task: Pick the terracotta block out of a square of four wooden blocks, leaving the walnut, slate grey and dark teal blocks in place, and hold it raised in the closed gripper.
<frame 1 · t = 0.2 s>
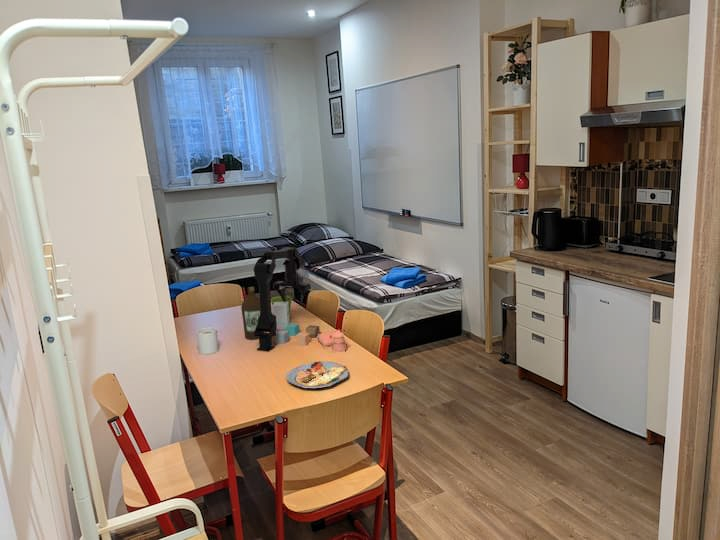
hand: (292, 302, 277), 14 cm above the table, tool pointing down, fingers open, 9 cm apart
pottery: (334, 347, 255), on the table
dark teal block: (292, 334, 273), on the table
terracotta block: (303, 344, 260), on the table
walnut block: (313, 336, 270), on the table
food plate: (318, 378, 222), on the table
olive oil: (254, 337, 272), on the table
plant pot: (282, 319, 298), on the table
slate grey block: (282, 342, 263), on the table
supplement box: (281, 327, 285), on the table
mug: (209, 350, 256), on the table
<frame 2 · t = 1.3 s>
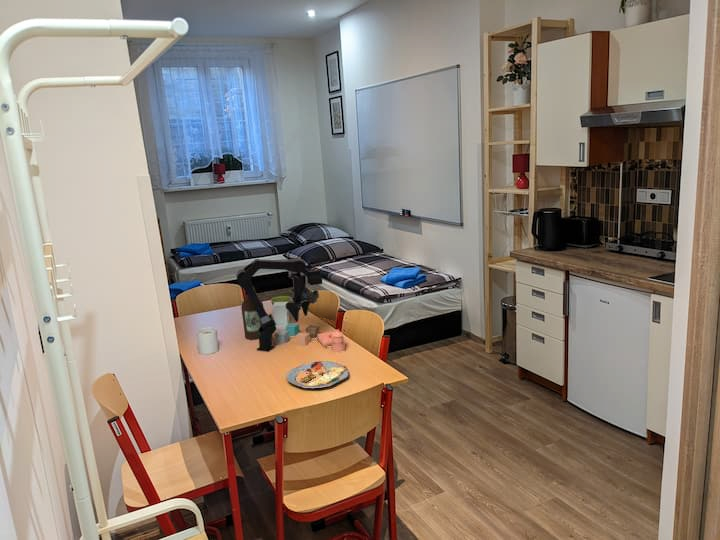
hand: (301, 318, 257), 13 cm above the table, tool pointing down, fingers open, 9 cm apart
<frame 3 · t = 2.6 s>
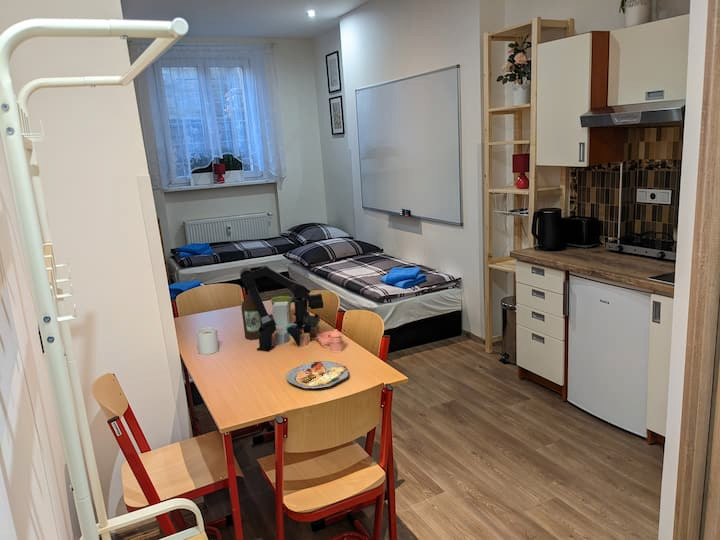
hand: (302, 342, 259), 1 cm above the table, tool pointing down, fingers open, 9 cm apart
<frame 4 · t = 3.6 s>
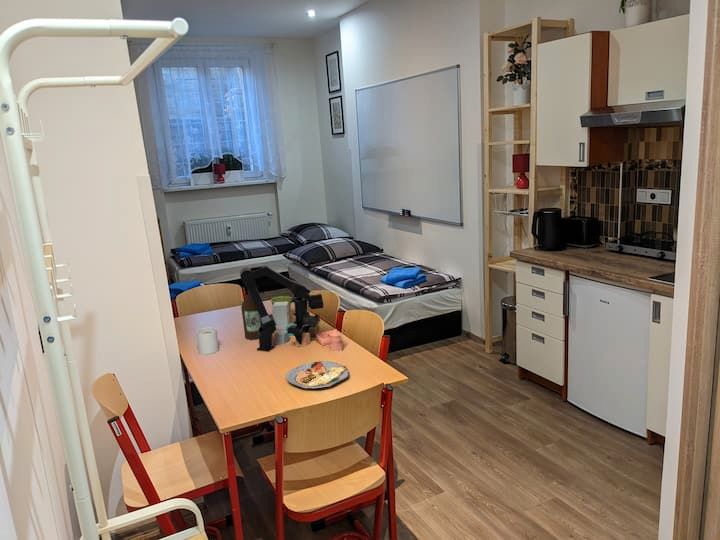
hand: (302, 342, 259), 1 cm above the table, tool pointing down, fingers closed on terracotta block, 5 cm apart
terracotta block: (303, 344, 260), on the table, touching gripper
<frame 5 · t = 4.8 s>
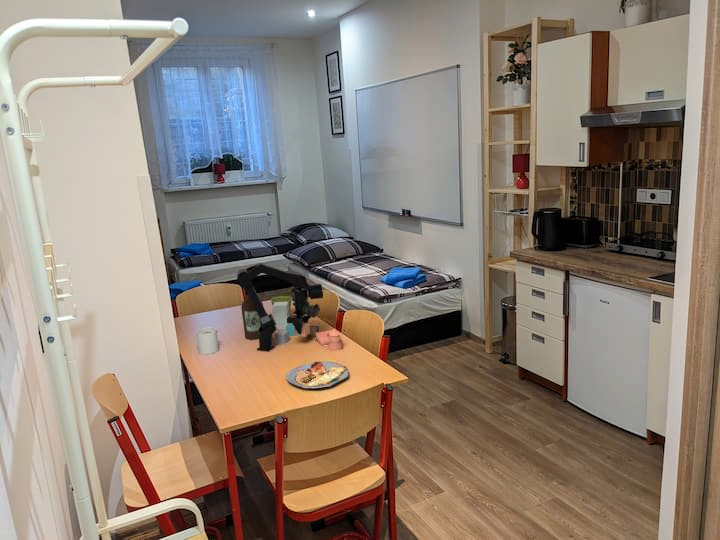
hand: (302, 332, 258), 6 cm above the table, tool pointing down, fingers closed on terracotta block, 5 cm apart
terracotta block: (302, 334, 258), point 5 cm above the table, touching gripper
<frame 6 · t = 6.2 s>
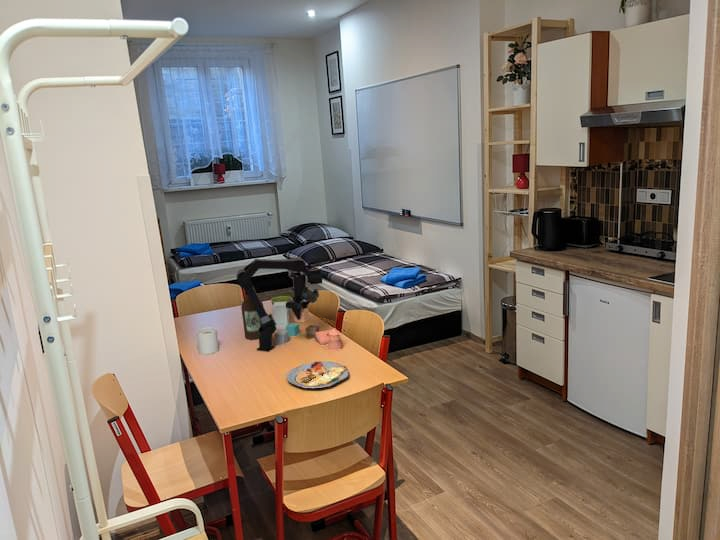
hand: (301, 317, 257), 13 cm above the table, tool pointing down, fingers closed on terracotta block, 5 cm apart
terracotta block: (301, 320, 257), point 12 cm above the table, touching gripper
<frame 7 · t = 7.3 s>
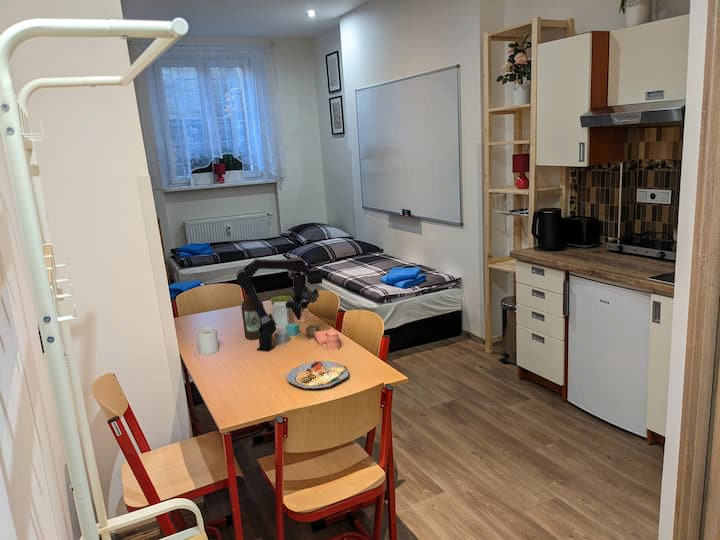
hand: (301, 317, 257), 13 cm above the table, tool pointing down, fingers closed on terracotta block, 5 cm apart
terracotta block: (301, 320, 257), point 12 cm above the table, touching gripper
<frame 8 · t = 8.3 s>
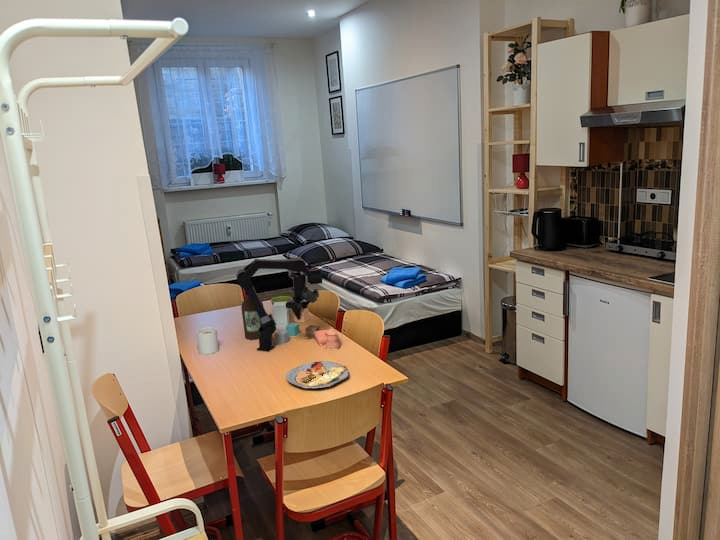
hand: (301, 317, 257), 13 cm above the table, tool pointing down, fingers closed on terracotta block, 5 cm apart
terracotta block: (301, 320, 257), point 12 cm above the table, touching gripper
at the end: the gripper is holding terracotta block; terracotta block point 11.9 cm above the table; walnut block moved 0.1 cm from its start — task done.
